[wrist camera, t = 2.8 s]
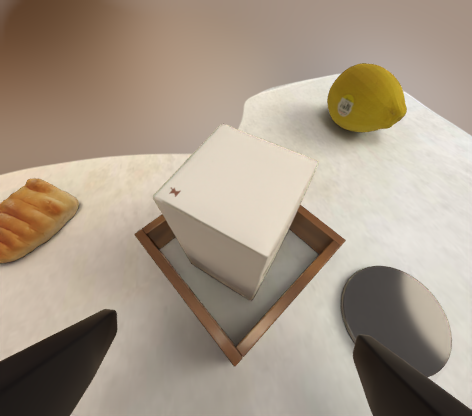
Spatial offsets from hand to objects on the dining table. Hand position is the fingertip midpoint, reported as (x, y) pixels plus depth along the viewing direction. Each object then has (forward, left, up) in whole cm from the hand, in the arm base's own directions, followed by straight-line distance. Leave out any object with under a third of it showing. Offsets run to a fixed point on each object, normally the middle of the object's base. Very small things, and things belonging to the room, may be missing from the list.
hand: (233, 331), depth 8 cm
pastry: (-8, +24, -13) cm, 28 cm away
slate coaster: (+12, -8, -13) cm, 19 cm away
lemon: (+32, +9, -13) cm, 35 cm away
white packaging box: (+6, +6, -13) cm, 16 cm away
